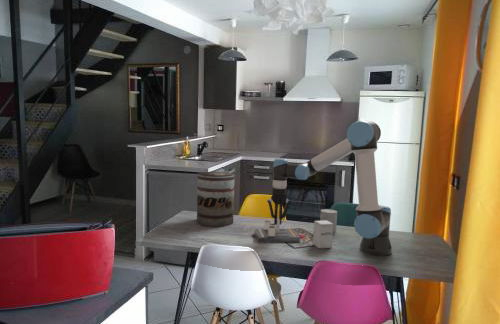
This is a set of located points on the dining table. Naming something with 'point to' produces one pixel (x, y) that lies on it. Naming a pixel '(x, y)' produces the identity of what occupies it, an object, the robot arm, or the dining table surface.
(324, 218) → the grey block
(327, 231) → the supplement box
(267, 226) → the breaker
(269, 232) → the breaker
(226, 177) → the barrel
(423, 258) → the dining table surface
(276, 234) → the panel
